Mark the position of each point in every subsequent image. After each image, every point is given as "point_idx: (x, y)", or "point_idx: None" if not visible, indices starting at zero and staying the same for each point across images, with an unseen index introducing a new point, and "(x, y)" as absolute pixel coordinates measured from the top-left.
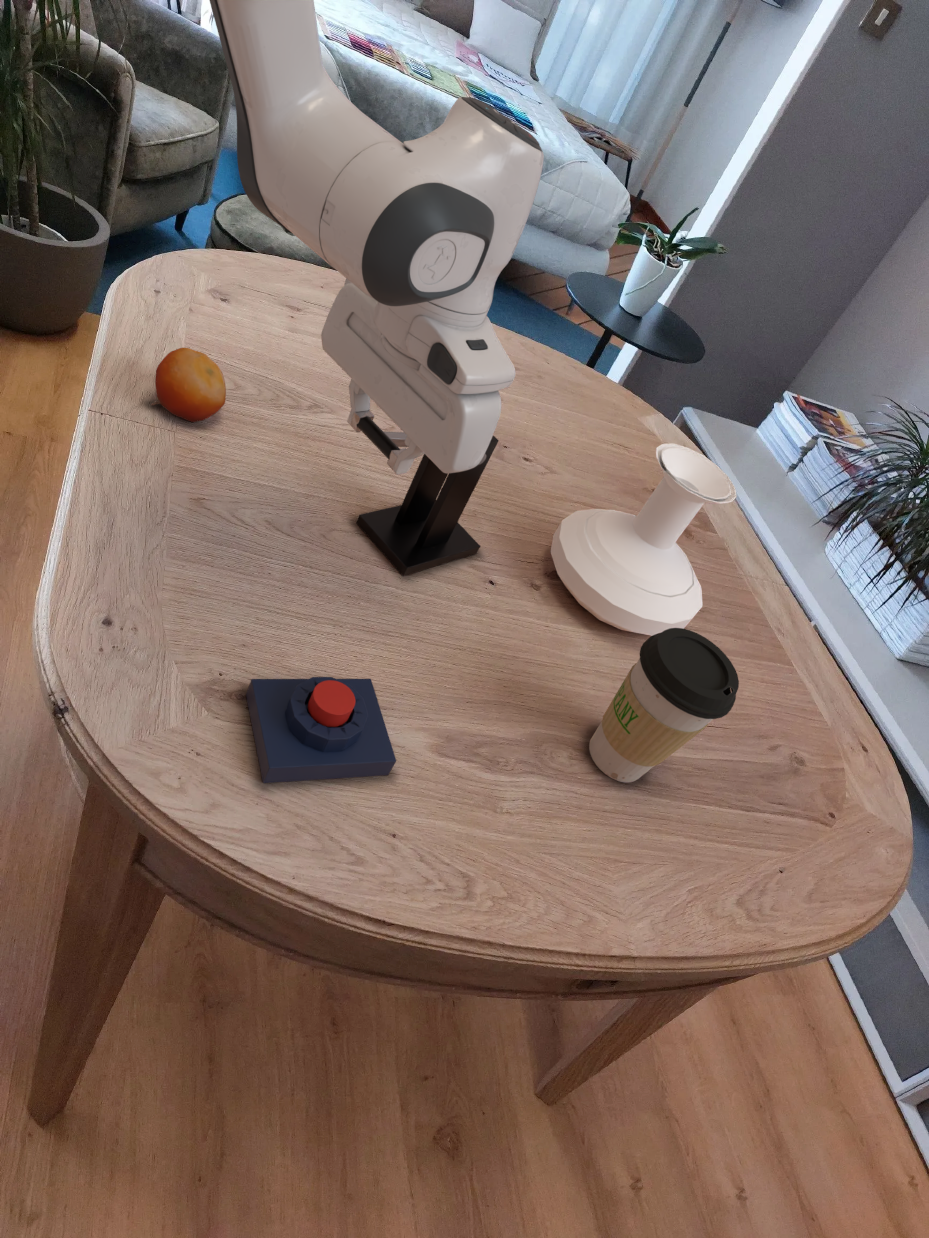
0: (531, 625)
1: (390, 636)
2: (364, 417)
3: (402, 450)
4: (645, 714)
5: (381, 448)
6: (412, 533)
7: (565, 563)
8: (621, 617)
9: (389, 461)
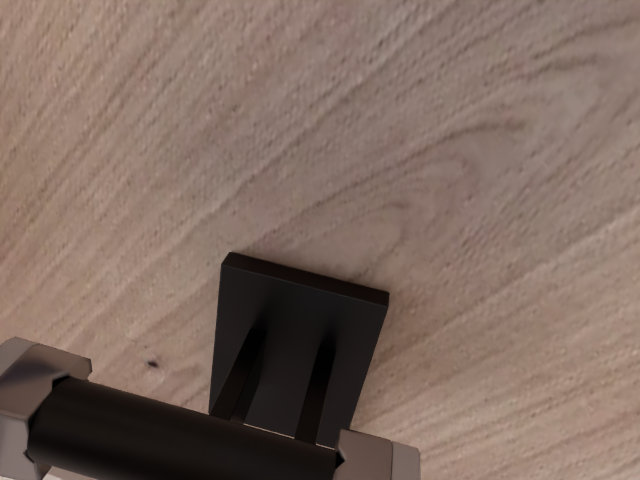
0: (53, 336)
1: (111, 94)
2: None
3: (19, 461)
4: None
5: (120, 406)
6: (290, 347)
7: (63, 470)
8: None
9: (53, 368)
